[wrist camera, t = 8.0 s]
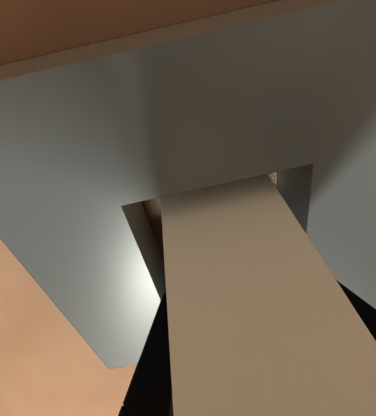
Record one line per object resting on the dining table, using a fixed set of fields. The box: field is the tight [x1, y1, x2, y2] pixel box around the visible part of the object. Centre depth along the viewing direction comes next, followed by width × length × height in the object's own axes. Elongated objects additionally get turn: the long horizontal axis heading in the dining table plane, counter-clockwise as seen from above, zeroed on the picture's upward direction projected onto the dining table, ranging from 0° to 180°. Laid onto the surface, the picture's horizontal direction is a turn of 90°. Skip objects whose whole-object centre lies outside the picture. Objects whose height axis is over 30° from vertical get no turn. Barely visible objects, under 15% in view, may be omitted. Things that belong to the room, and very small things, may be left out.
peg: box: [160, 174, 376, 416], centre depth 8 cm, size 4×4×9 cm
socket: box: [0, 0, 376, 369], centre depth 12 cm, size 14×14×3 cm
